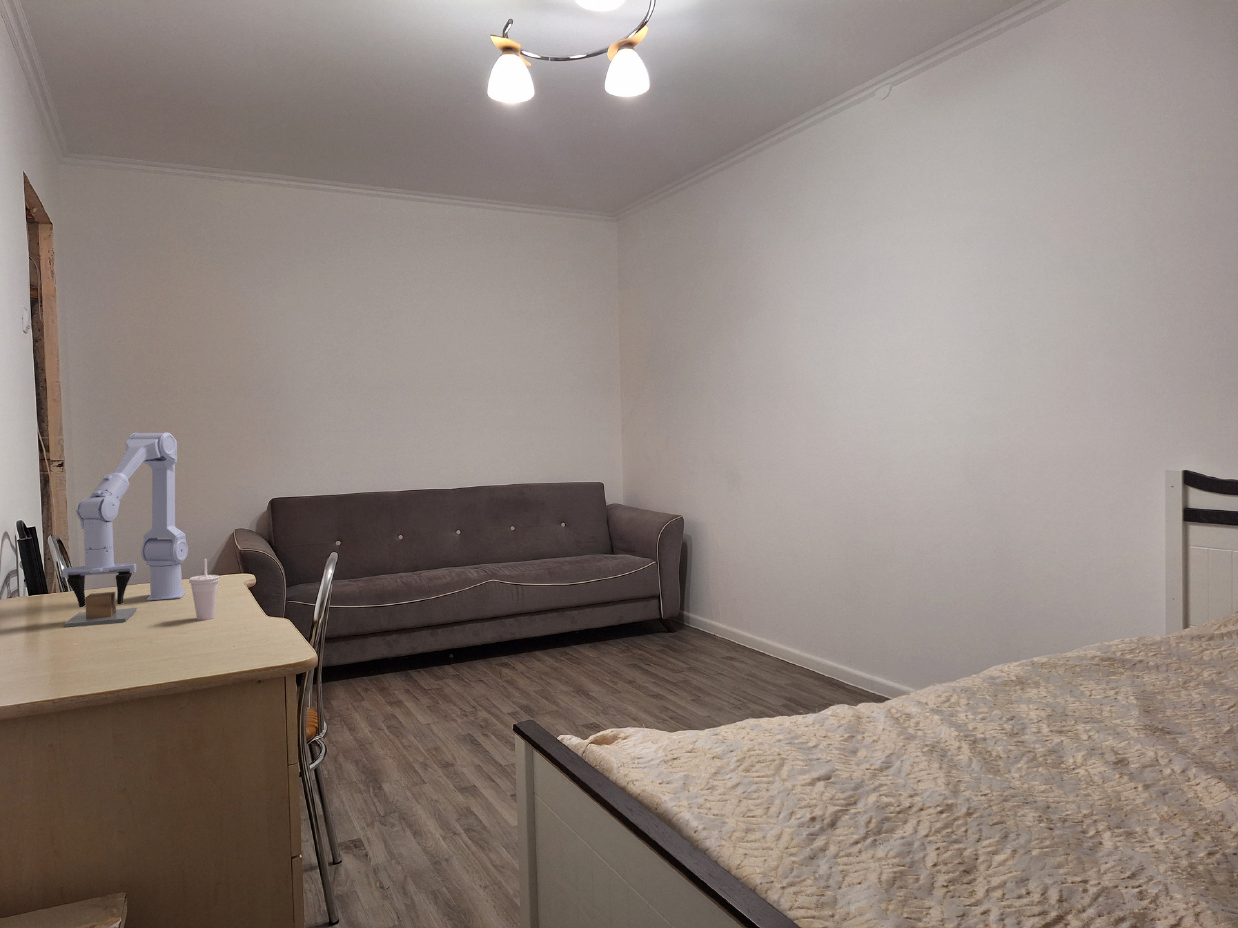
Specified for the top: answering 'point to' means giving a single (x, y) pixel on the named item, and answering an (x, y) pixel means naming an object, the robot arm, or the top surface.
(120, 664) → the top surface
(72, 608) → the top surface
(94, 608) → the walnut cube
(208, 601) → the smoothie
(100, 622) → the coaster
